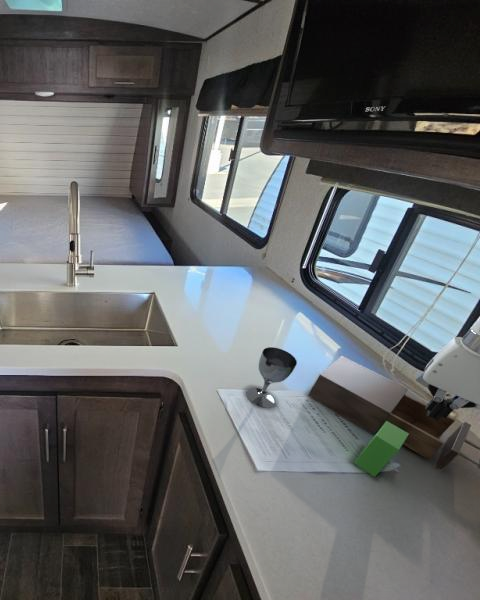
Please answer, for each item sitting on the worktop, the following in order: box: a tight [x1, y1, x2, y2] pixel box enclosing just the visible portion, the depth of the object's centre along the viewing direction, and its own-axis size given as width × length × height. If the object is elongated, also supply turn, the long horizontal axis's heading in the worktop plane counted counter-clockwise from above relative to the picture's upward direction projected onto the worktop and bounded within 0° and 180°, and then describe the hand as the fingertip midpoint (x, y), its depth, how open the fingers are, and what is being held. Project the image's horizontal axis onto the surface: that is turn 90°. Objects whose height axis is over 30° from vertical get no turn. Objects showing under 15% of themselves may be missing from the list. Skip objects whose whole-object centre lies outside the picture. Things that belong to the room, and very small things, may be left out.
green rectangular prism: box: [353, 421, 409, 478], centre depth 72 cm, size 4×7×10 cm, turn 125°
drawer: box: [377, 393, 480, 471], centre depth 78 cm, size 19×13×6 cm
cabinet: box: [307, 355, 409, 436], centre depth 88 cm, size 16×15×8 cm
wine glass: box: [246, 347, 298, 409], centre depth 87 cm, size 8×8×15 cm
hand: (432, 414), depth 66 cm, fingers closed
